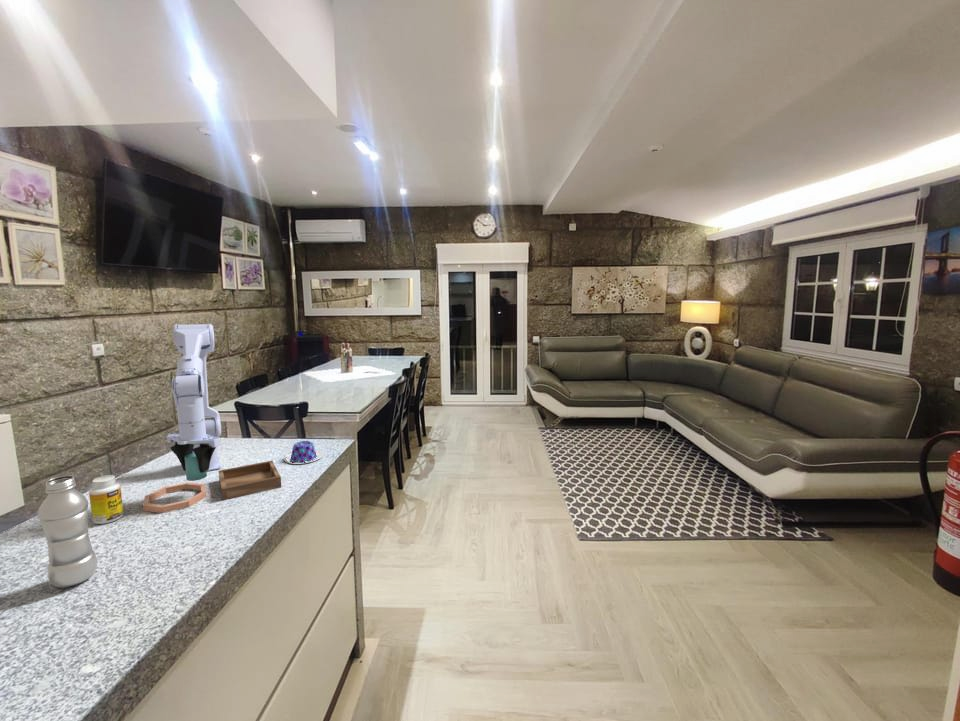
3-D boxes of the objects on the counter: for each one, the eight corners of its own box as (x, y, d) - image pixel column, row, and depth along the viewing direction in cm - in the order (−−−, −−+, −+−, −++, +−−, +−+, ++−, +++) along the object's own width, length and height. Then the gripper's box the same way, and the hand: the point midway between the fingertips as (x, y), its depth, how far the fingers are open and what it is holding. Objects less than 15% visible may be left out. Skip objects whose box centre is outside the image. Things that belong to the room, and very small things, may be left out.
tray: (219, 480, 121) (218, 470, 121) (272, 469, 129) (272, 460, 128) (222, 500, 110) (222, 489, 109) (281, 487, 118) (280, 476, 117)
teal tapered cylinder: (182, 480, 110) (180, 458, 109) (201, 470, 116) (199, 449, 115) (197, 481, 109) (194, 459, 108) (215, 472, 115) (214, 451, 114)
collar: (146, 495, 111) (145, 490, 111) (204, 484, 119) (204, 479, 118) (142, 517, 101) (141, 511, 101) (206, 503, 108) (206, 497, 108)
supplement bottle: (111, 525, 97) (105, 483, 96) (86, 525, 97) (80, 483, 96) (130, 512, 103) (125, 473, 101) (106, 512, 103) (101, 473, 101)
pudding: (281, 467, 132) (280, 451, 131) (287, 453, 143) (286, 438, 142) (321, 463, 135) (321, 448, 134) (324, 450, 146) (324, 436, 145)
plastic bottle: (107, 573, 81) (94, 474, 78) (63, 597, 74) (46, 490, 71) (85, 566, 83) (72, 469, 80) (40, 588, 76) (24, 484, 73)
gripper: (153, 423, 107) (159, 473, 109) (203, 427, 104) (207, 479, 106) (178, 415, 114) (183, 463, 116) (225, 419, 111) (229, 468, 113)
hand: (196, 470), depth 111 cm, fingers closed on teal tapered cylinder, 4 cm apart
